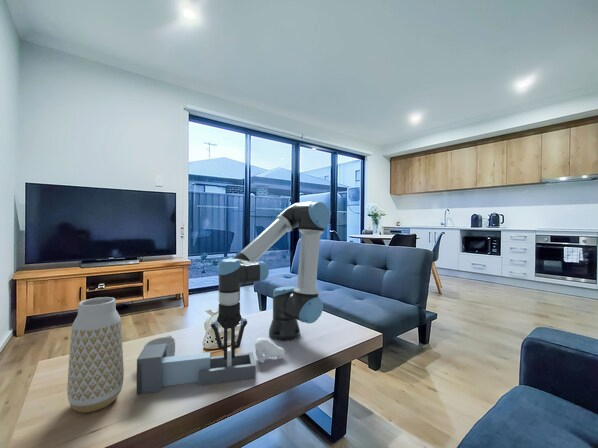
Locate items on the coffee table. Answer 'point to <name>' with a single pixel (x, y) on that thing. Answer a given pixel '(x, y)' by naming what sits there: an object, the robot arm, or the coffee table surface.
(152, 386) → the endcap
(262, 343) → the white irregular piece
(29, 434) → the coffee table surface
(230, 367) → the endcap
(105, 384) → the vase
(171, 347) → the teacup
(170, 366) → the blue-grey rectangular block
